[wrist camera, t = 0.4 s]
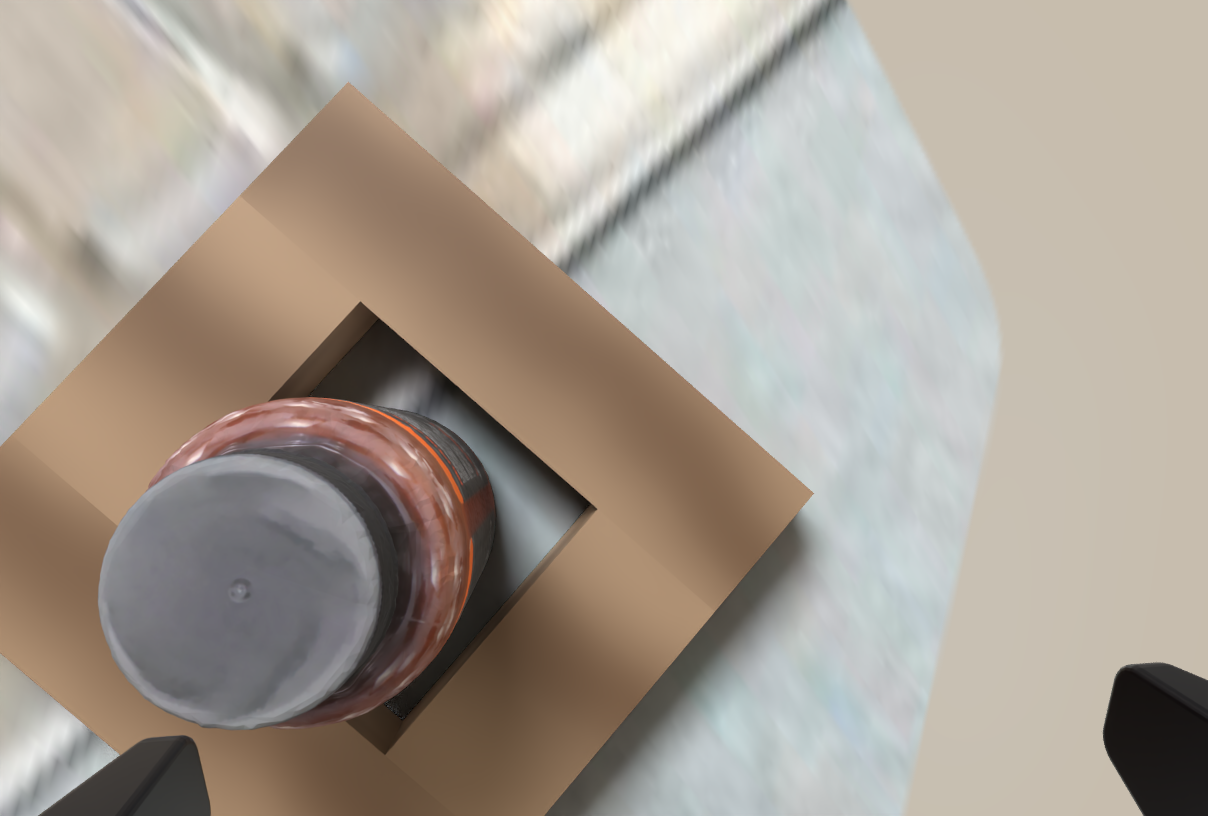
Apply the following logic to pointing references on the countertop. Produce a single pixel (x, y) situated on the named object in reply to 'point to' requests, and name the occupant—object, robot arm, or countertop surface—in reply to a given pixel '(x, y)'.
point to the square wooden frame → (488, 376)
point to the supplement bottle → (296, 564)
